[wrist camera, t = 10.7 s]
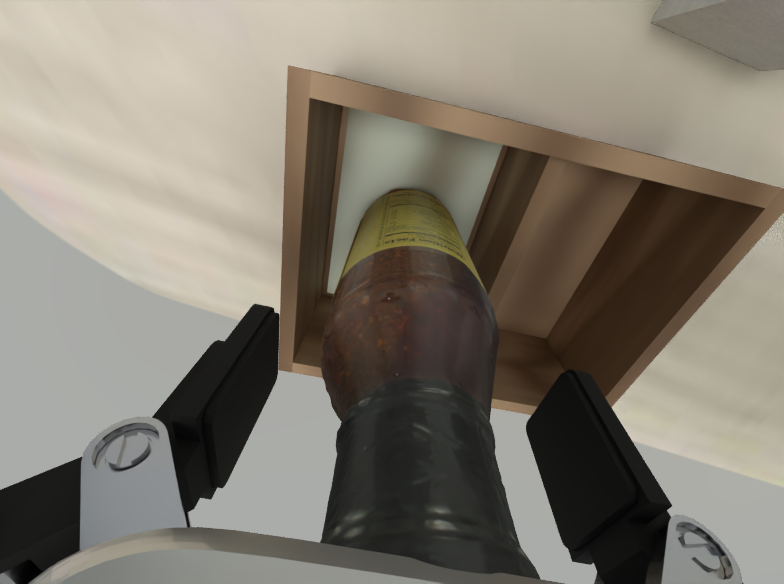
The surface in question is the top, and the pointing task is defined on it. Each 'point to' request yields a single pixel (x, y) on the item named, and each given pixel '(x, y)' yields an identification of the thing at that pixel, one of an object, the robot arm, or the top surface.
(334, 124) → the crate
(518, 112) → the top surface
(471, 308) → the sauce bottle
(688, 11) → the printed food box
